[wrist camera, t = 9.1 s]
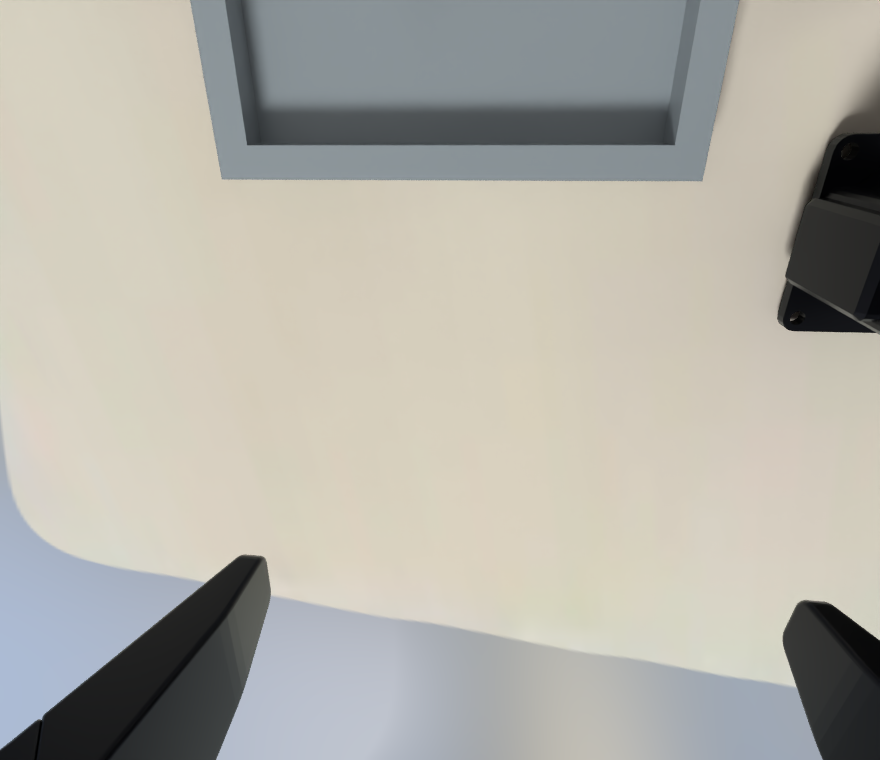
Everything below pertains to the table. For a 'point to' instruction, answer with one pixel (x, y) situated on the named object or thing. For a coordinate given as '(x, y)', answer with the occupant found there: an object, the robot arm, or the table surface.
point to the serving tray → (463, 88)
